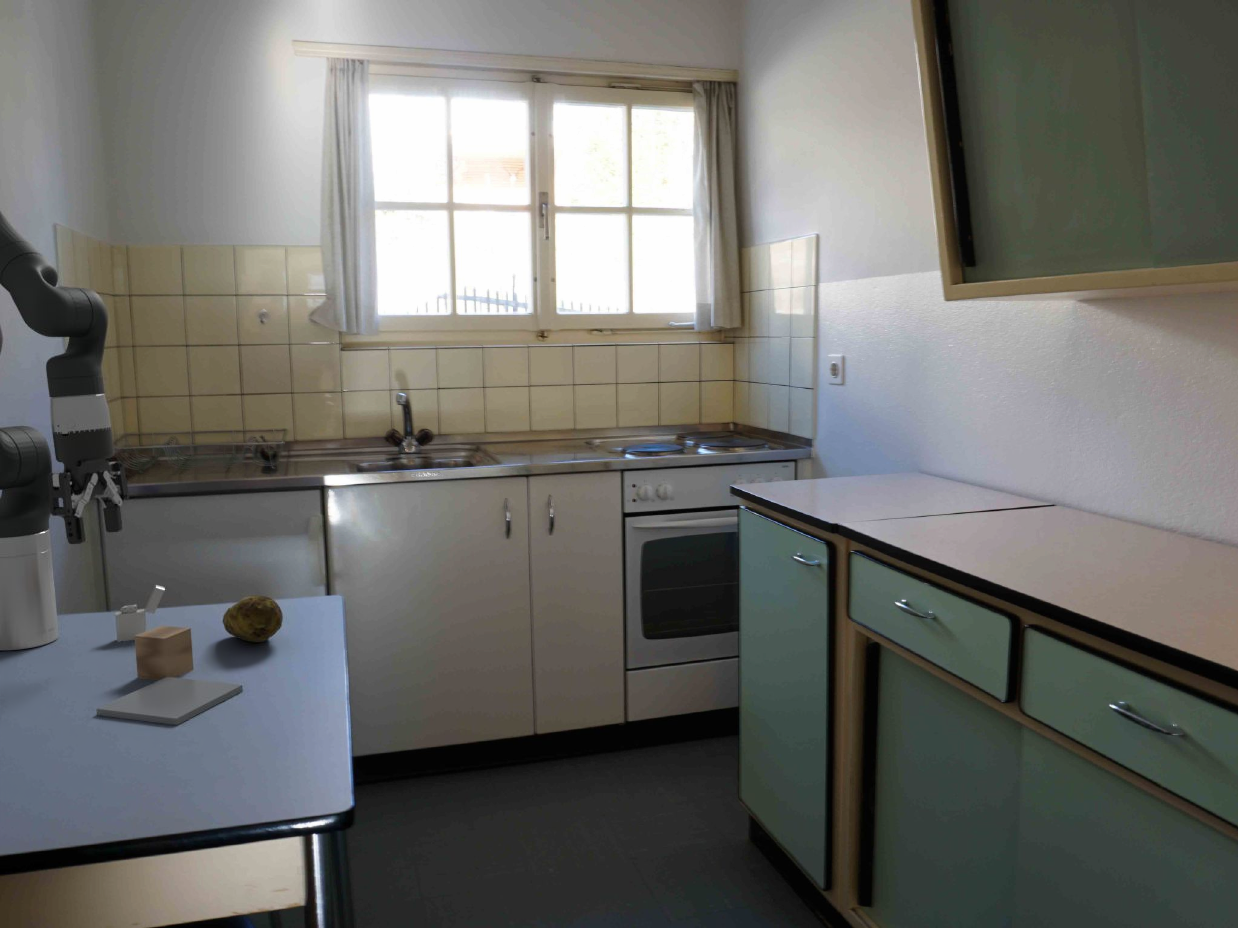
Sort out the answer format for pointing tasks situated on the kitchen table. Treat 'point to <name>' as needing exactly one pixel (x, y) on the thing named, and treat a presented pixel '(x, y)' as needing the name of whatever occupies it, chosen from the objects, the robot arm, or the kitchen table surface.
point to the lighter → (136, 617)
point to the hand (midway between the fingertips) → (96, 537)
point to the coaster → (170, 700)
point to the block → (163, 652)
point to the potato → (253, 618)
